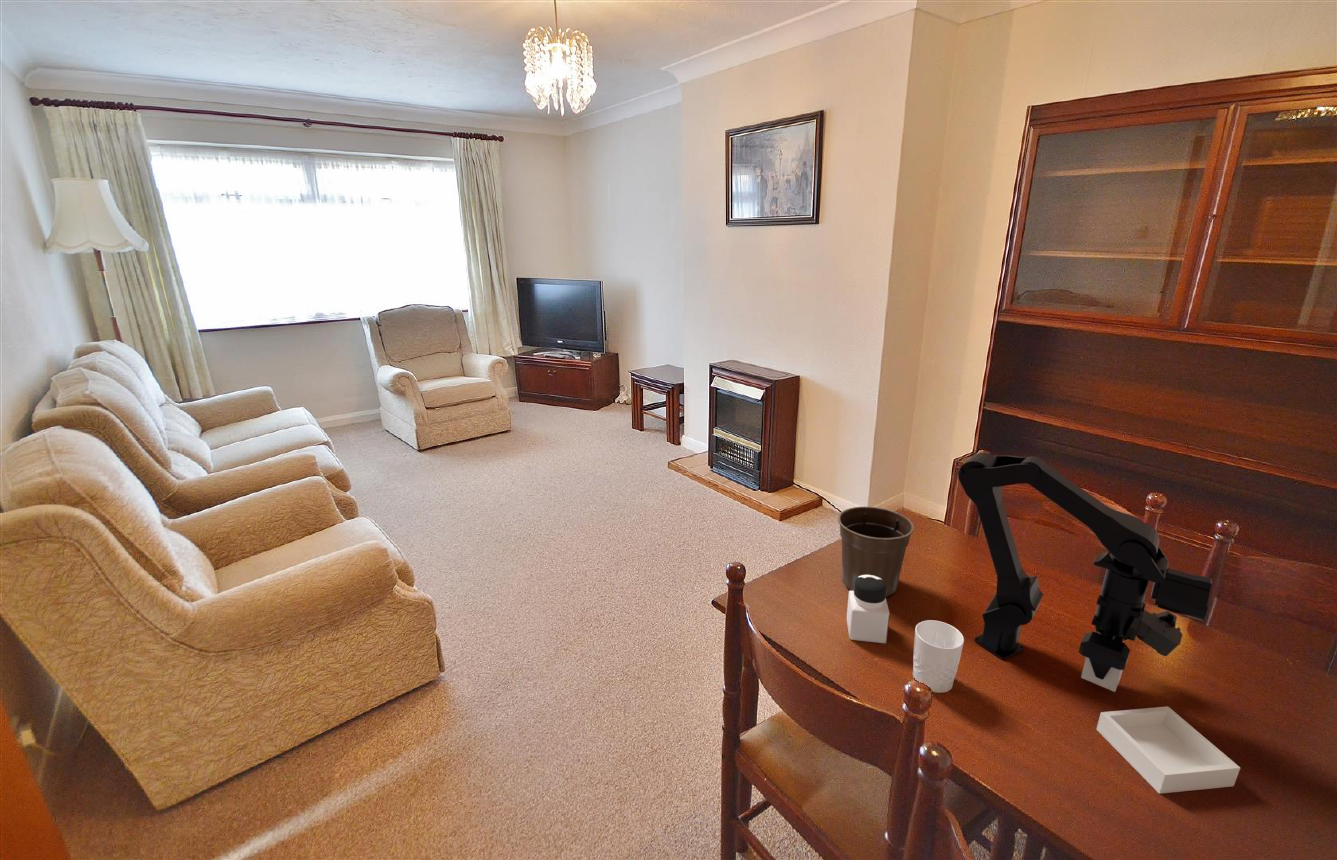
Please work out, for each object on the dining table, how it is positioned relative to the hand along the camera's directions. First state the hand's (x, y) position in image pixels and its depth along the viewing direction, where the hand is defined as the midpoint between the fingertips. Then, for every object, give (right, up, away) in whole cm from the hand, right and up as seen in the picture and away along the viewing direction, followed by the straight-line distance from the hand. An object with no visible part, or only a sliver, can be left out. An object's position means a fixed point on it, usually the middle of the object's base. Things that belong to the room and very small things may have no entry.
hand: (1102, 670), depth 103 cm
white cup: (-29, -3, +3) cm, 29 cm away
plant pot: (-30, +7, +33) cm, 45 cm away
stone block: (0, -2, 0) cm, 2 cm away
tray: (-1, -8, -13) cm, 15 cm away
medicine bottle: (-36, +1, +17) cm, 40 cm away
